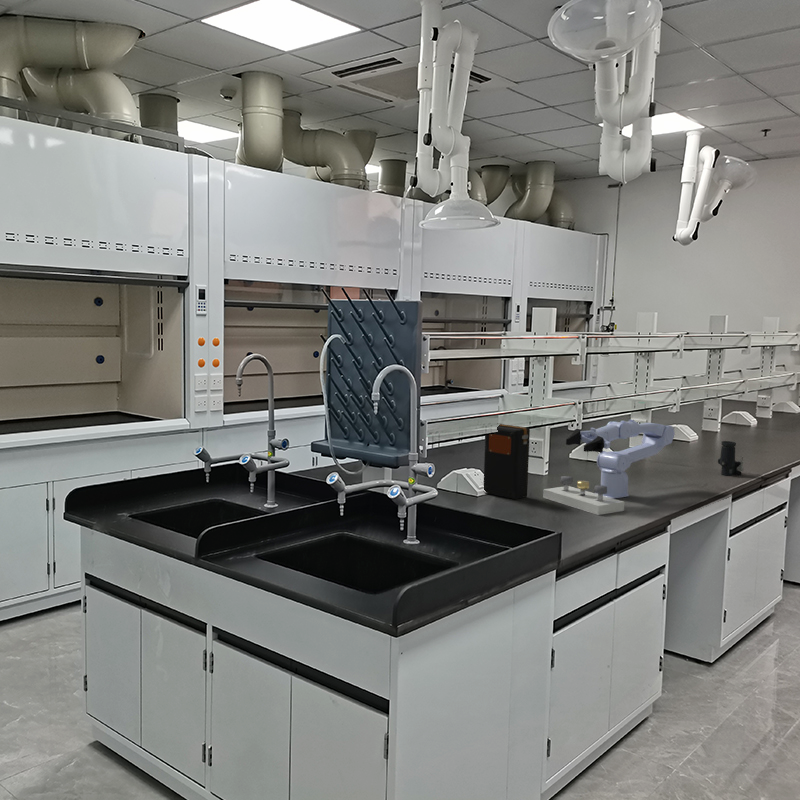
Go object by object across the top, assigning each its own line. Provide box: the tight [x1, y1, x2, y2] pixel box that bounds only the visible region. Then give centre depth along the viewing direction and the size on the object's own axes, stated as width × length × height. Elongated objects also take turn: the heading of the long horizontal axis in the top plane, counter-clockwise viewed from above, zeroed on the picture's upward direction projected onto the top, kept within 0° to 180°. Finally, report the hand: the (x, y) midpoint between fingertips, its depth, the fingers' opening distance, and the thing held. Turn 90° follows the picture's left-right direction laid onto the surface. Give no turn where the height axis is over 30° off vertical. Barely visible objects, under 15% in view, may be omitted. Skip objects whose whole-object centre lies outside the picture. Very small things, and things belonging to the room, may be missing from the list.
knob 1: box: [560, 475, 573, 491], centre depth 258 cm, size 4×4×5 cm
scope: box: [717, 440, 745, 477], centre depth 306 cm, size 8×14×10 cm
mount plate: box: [542, 485, 625, 516], centre depth 251 cm, size 12×26×3 cm, turn 31°
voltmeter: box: [483, 423, 531, 500], centre depth 261 cm, size 16×9×25 cm, turn 45°
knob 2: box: [593, 484, 607, 502], centre depth 244 cm, size 4×4×5 cm
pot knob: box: [576, 480, 590, 496], centre depth 251 cm, size 4×4×5 cm
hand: (575, 445), depth 250 cm, fingers open, 7 cm apart
